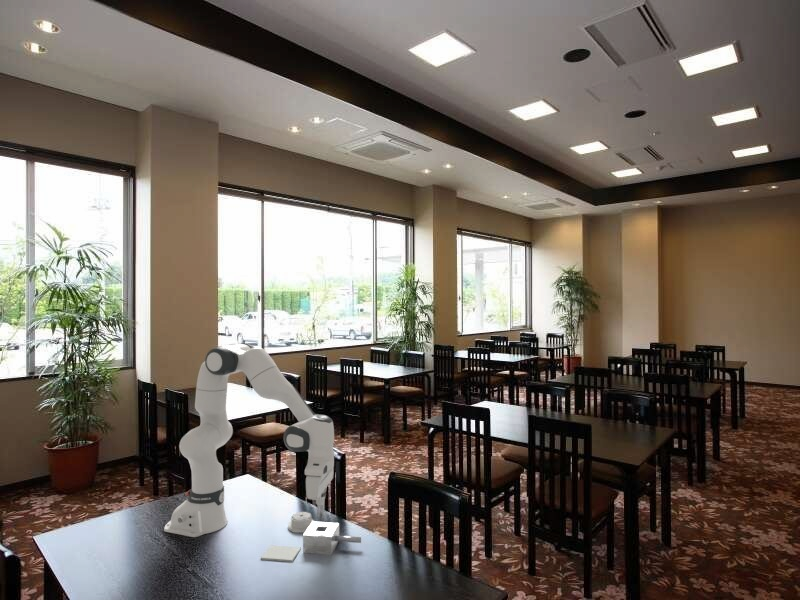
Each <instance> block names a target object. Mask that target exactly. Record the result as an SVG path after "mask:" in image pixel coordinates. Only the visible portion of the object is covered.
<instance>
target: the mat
mask: <svg viewBox="0 0 800 600" xmlns="http://www.w3.org/2000/svg"><path fill="white" fill-rule="evenodd" d="M301 549H302V548H301V547H299V546H286V545H285V546H284V545H273V544H272V545H271V544H270V545H269V547H268V548H267V549H266V550H265V552H264V553H263V554H262V555H261V557H260V560H261V561H262V560H263V561H274V562H275V561H278V562H290V563H293V561H294V560H295V559H296V558H297V556H298V554H299V553H300V551H301Z"/></svg>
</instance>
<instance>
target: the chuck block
mask: <svg viewBox="0 0 800 600" xmlns="http://www.w3.org/2000/svg"><path fill="white" fill-rule="evenodd" d="M314 521H315V520H314ZM314 521H312V523H311V524H310V526H309V527H308V529H307V530H306V531H305V532H303V534H302V552H303V553H306V554H317V555H318V554H319V555H332V554H333V553H334V550H335V549H336V547H337V545H338V543H339V542H343V543H357V544H362V543H361V542H362V537H361V536H351V535H350V536H348V535H340V523H339V522H327V521H326V522H325V521H315V522H314ZM303 553H302V554H303Z"/></svg>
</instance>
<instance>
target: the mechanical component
mask: <svg viewBox="0 0 800 600" xmlns="http://www.w3.org/2000/svg"><path fill="white" fill-rule="evenodd" d="M290 518H291V520H290V521H289V522H288V524H287V525H288V526H287V528H288V530H289V531H290V532H292V533H296V534H298V533H299V534H300V533H305V531H306V530H307V529H308V527H309V526H310V524H311V523H312V521H314V522H316V521H315V520H314V519H313V518H312V514H311V512H308V511H300V512H296V513H295V514H293V515H291V517H290Z"/></svg>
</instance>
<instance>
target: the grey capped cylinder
mask: <svg viewBox="0 0 800 600" xmlns="http://www.w3.org/2000/svg"><path fill="white" fill-rule="evenodd" d="M326 492H327V491H326ZM326 492H325V490H324V491H323V492H322V495H321V498H322V503H321V504H320V505H317V504H316V505H317V507H316V508H317V510H316V512H317V513H316V517H317V518H318V519H323V518H324V517H325V499H324V497H325V498H326V495H327V493H326Z"/></svg>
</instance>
